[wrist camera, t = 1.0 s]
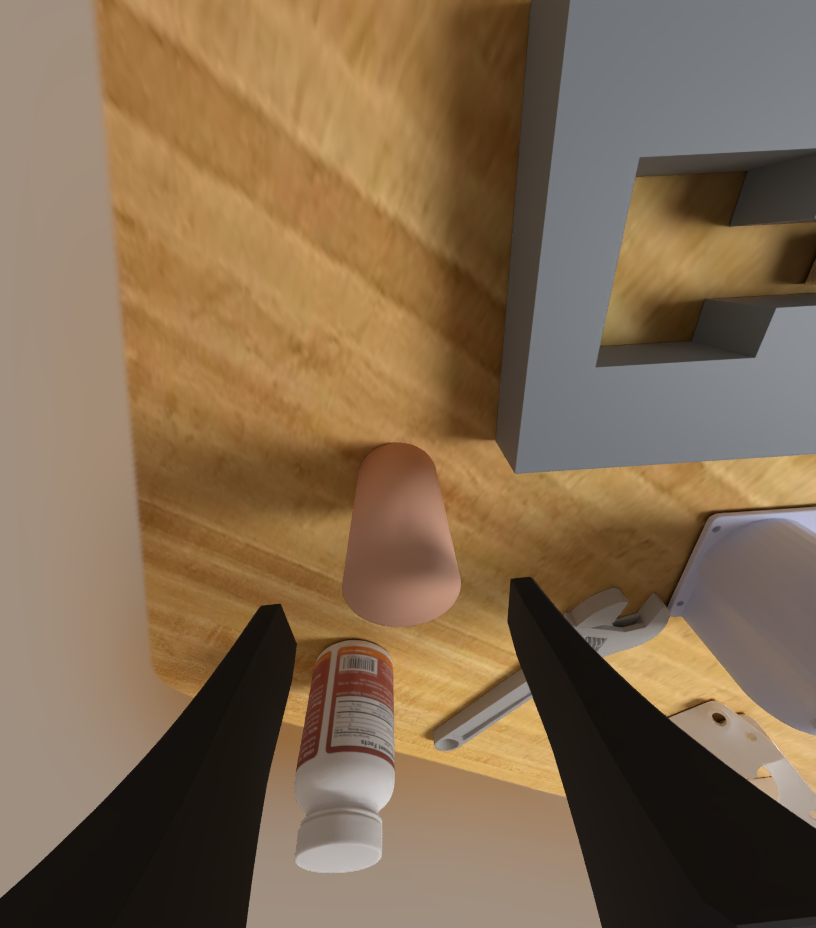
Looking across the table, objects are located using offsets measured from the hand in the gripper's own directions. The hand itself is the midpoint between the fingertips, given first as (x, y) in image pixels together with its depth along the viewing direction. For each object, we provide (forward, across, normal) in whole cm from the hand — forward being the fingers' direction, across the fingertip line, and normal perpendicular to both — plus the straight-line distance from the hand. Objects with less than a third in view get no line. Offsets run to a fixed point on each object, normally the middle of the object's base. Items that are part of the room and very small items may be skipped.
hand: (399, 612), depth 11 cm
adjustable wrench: (+10, -9, +22) cm, 26 cm away
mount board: (+10, -14, -8) cm, 19 cm away
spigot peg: (+10, 0, +1) cm, 10 cm away
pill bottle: (+10, +5, +18) cm, 21 cm away
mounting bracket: (+10, -27, +36) cm, 46 cm away
